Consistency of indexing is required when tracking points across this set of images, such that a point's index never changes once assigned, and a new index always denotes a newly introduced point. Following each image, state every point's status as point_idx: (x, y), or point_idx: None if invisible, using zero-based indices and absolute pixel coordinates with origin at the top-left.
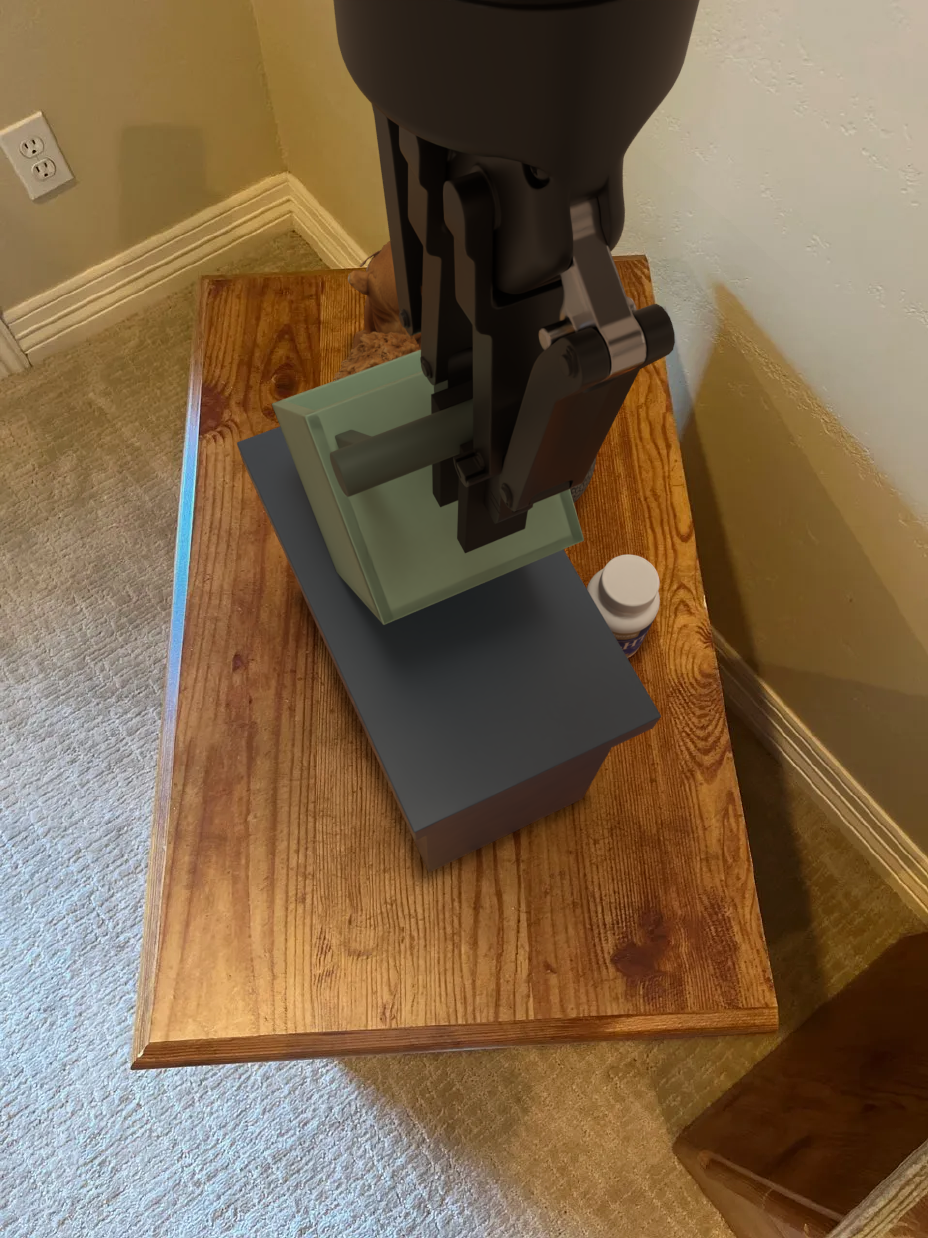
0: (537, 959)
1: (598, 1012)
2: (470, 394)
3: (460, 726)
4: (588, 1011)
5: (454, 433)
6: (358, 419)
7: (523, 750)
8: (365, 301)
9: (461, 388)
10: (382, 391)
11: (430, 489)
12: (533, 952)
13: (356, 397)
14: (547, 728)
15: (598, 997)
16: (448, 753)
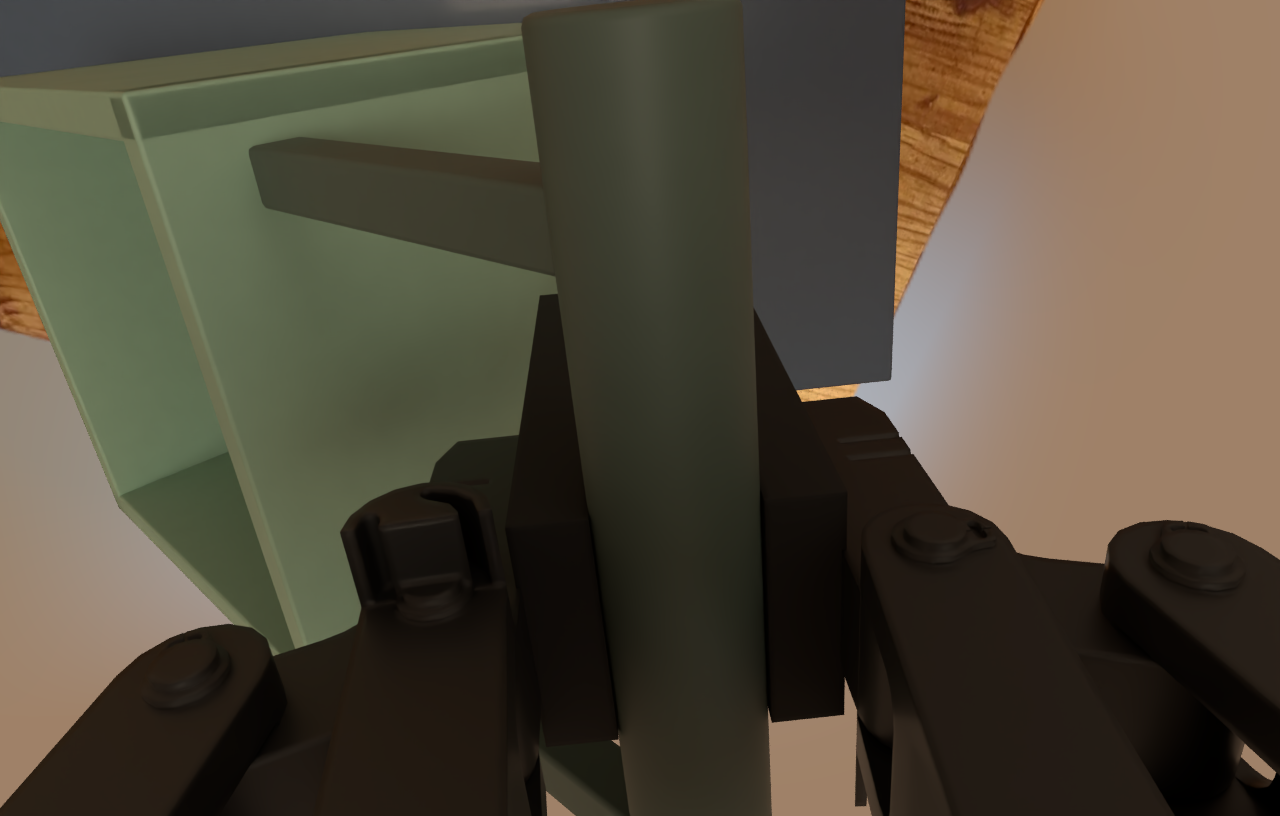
0: (911, 113)
1: (1004, 60)
2: (591, 650)
3: (770, 265)
4: (997, 72)
5: (746, 752)
6: (350, 601)
7: (851, 179)
8: None
9: (556, 668)
10: (287, 556)
11: (515, 409)
12: (901, 115)
13: (296, 615)
14: (835, 124)
15: (989, 52)
16: (804, 297)
